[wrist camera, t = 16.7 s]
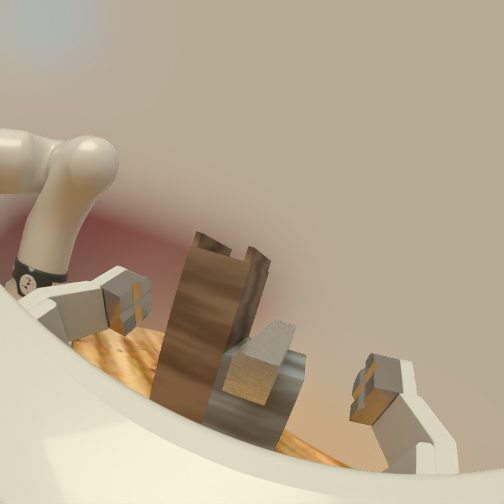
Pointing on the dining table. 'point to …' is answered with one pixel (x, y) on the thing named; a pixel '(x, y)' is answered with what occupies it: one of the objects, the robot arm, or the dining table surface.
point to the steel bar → (259, 363)
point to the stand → (220, 347)
